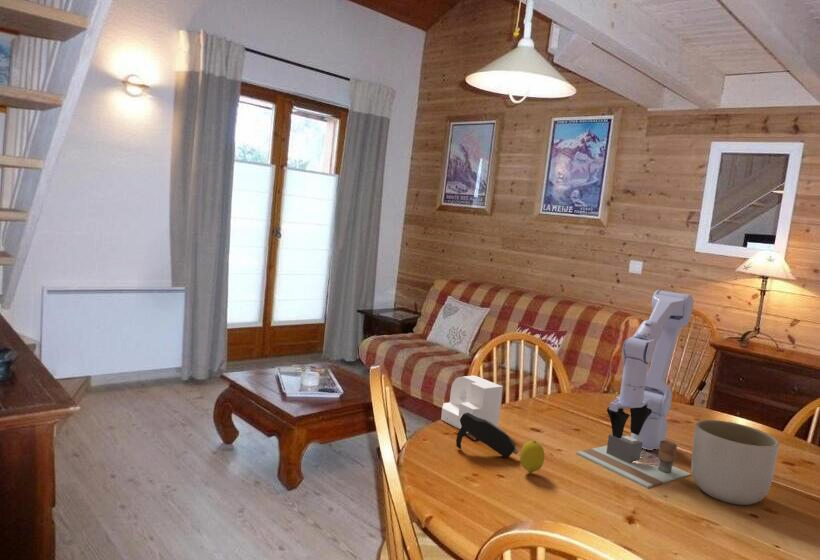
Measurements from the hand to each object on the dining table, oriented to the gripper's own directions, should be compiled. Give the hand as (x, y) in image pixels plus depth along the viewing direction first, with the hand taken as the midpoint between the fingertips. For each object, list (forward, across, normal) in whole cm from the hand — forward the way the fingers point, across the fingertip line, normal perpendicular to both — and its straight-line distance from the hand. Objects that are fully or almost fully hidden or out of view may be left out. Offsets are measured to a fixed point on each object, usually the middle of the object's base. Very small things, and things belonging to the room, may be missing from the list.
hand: (625, 435), depth 153 cm
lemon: (+7, +31, -3) cm, 32 cm away
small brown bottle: (+6, -3, +10) cm, 12 cm away
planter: (+7, -6, +24) cm, 26 cm away
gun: (+8, +35, -18) cm, 41 cm away
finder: (+6, 0, 0) cm, 6 cm away
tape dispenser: (+7, +23, -36) cm, 44 cm away
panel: (+6, +1, +4) cm, 7 cm away
